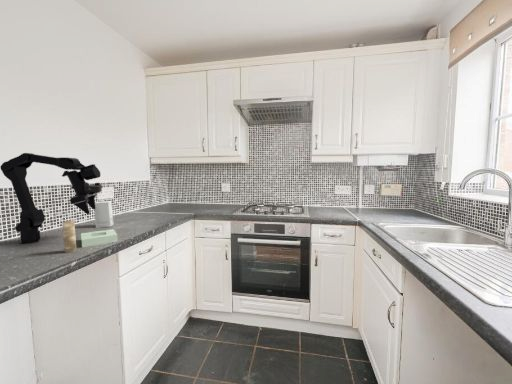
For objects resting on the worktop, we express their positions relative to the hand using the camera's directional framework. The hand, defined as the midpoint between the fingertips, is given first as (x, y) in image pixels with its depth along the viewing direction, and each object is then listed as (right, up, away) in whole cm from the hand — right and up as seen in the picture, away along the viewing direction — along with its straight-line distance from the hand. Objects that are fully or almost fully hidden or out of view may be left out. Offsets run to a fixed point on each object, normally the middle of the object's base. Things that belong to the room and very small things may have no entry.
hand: (91, 211), depth 120 cm
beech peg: (+4, -16, -19) cm, 25 cm away
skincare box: (-10, -12, +26) cm, 31 cm away
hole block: (+7, -14, -4) cm, 16 cm away
